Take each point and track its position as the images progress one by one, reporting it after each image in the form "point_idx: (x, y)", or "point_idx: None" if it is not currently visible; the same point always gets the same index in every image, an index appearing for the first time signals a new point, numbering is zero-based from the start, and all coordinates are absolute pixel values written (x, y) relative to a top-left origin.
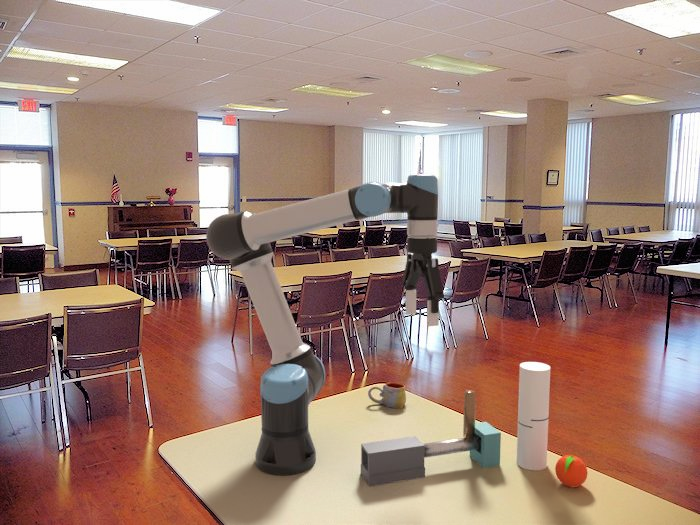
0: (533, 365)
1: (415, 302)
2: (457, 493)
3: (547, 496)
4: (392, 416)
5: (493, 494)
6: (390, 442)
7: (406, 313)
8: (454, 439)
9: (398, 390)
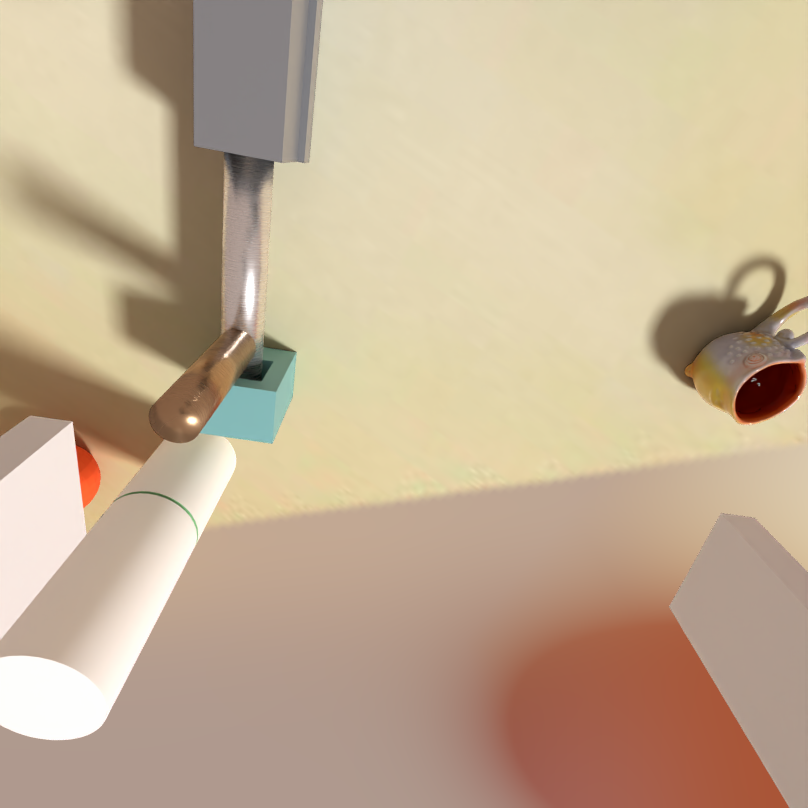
0: (51, 701)
1: (762, 743)
2: (105, 179)
3: (40, 381)
4: (653, 304)
5: (77, 270)
6: (263, 19)
7: (738, 523)
8: (242, 298)
9: (731, 385)
